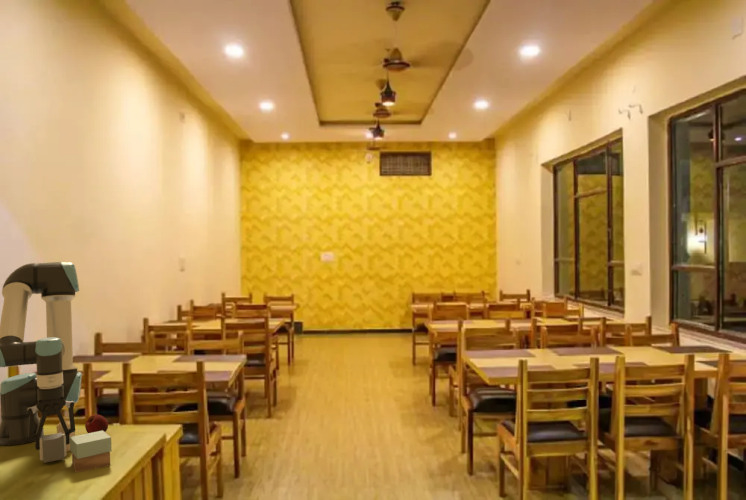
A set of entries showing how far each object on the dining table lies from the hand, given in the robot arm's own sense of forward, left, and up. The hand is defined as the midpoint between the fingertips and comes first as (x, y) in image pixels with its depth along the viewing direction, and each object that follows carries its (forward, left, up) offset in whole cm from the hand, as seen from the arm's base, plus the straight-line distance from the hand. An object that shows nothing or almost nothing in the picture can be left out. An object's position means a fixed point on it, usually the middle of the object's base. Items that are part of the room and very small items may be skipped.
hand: (53, 456), depth 200 cm
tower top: (+10, +10, +3) cm, 15 cm away
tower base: (+10, +10, -2) cm, 15 cm away
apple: (-21, +16, -2) cm, 27 cm away
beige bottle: (-11, +5, -2) cm, 13 cm away
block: (0, 0, 0) cm, 0 cm away
